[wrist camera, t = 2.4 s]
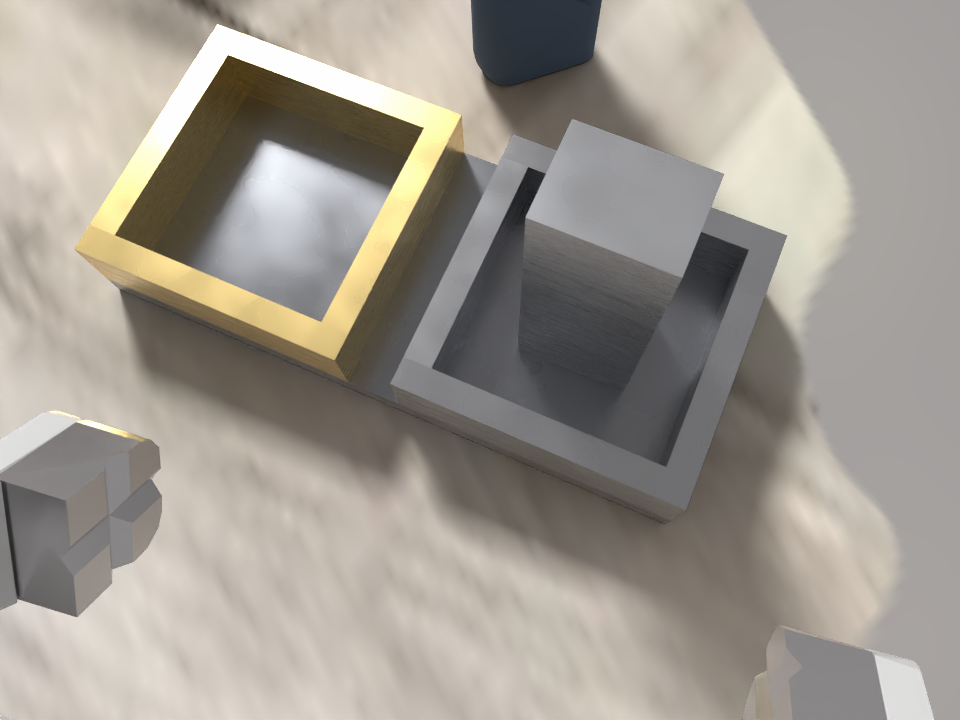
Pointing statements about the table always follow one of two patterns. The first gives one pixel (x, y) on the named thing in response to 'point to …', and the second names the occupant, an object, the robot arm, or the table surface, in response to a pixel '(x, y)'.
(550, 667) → the table surface
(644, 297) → the block
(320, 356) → the double square tray
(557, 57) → the vaping device
